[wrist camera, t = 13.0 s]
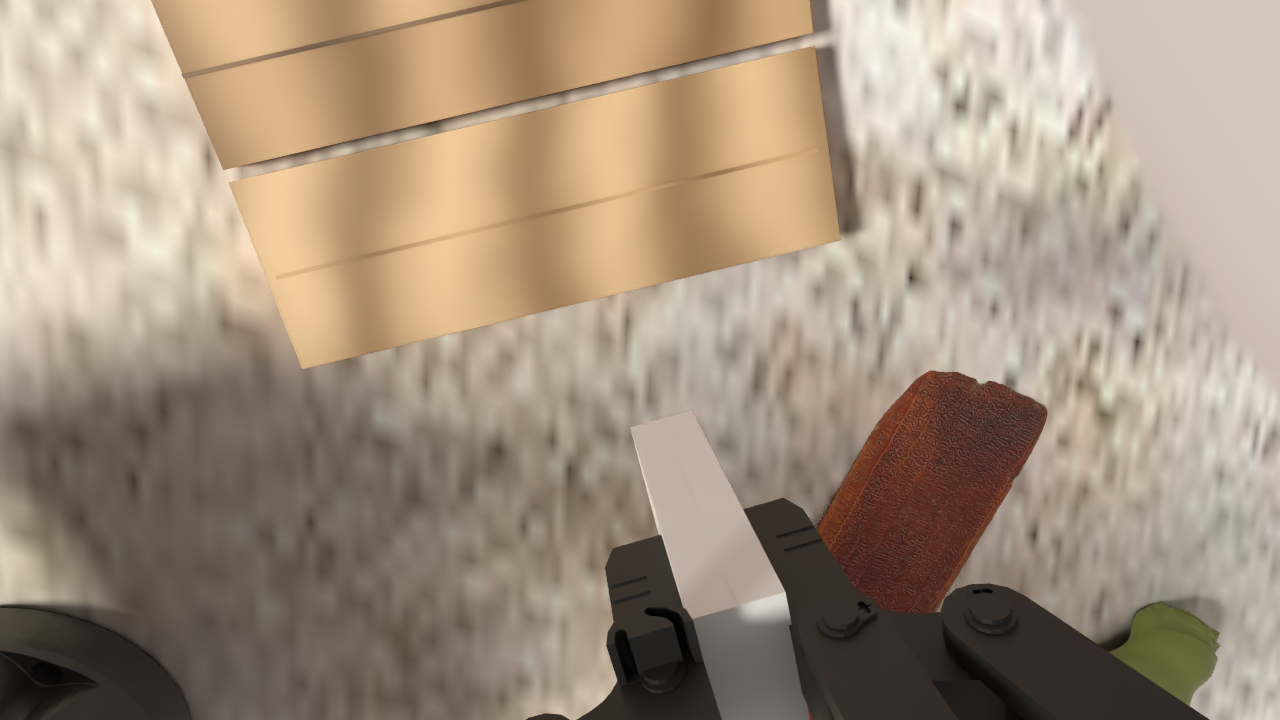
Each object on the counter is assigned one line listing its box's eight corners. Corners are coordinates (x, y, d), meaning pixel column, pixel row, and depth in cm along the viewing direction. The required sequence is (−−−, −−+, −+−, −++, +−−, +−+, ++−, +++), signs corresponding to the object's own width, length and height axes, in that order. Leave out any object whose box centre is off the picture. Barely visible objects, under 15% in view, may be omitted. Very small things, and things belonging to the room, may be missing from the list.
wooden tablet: (824, 757, 46) (834, 780, 45) (687, 722, 44) (692, 746, 42) (1065, 410, 38) (1087, 423, 37) (916, 344, 36) (932, 355, 34)
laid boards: (236, 166, 29) (222, 169, 28) (156, -23, 26) (138, -28, 25) (803, 34, 30) (813, 32, 28) (780, -164, 27) (791, -175, 26)
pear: (1096, 748, 39) (1225, 620, 39) (1025, 684, 44) (1139, 570, 44) (1140, 795, 41) (1264, 673, 41) (1067, 729, 46) (1177, 620, 46)
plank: (805, 49, 30) (815, 46, 29) (831, 236, 32) (841, 240, 31) (241, 181, 29) (227, 182, 28) (311, 361, 32) (301, 369, 31)
